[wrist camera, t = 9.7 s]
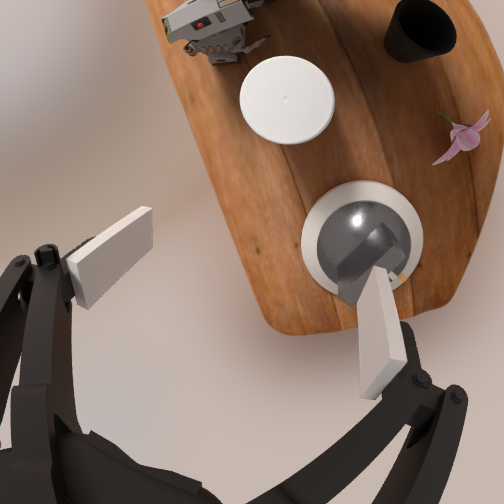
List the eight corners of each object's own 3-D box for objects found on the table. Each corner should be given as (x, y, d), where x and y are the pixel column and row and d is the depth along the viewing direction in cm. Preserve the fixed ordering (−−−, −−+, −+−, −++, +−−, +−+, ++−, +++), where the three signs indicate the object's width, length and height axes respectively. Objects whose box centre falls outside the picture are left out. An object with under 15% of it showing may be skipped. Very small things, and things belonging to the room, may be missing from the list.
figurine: (279, 61, 34) (256, 34, 21) (205, 67, 37) (153, 51, 24) (277, 10, 30) (254, -34, 17) (204, 18, 32) (156, -12, 20)
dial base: (308, 171, 41) (307, 174, 39) (431, 192, 37) (436, 196, 35) (296, 284, 50) (294, 291, 48) (401, 298, 46) (404, 305, 44)
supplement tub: (282, 64, 34) (260, 39, 22) (342, 91, 34) (352, 77, 21) (256, 120, 39) (223, 123, 26) (314, 147, 39) (310, 162, 26)
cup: (382, 68, 31) (403, 51, 20) (372, 23, 28) (387, -7, 17) (429, 70, 28) (463, 58, 18) (419, 26, 25) (447, 1, 15)
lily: (407, 156, 37) (445, 192, 30) (410, 84, 28) (459, 110, 21) (458, 146, 36) (495, 178, 29) (464, 84, 27) (510, 109, 21)
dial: (297, 250, 44) (290, 280, 37) (362, 179, 37) (372, 196, 29) (362, 303, 46) (366, 338, 38) (426, 244, 38) (445, 273, 31)
